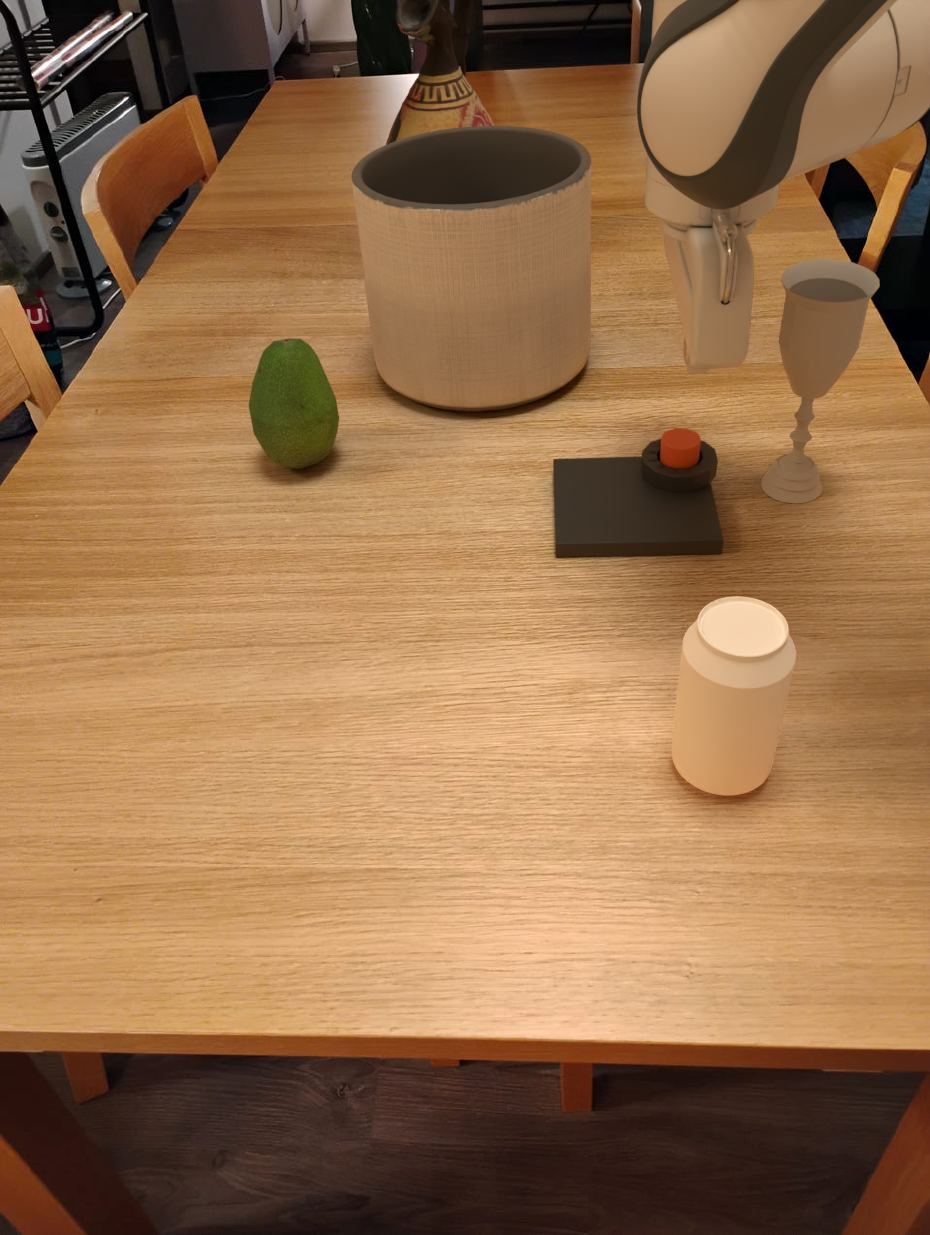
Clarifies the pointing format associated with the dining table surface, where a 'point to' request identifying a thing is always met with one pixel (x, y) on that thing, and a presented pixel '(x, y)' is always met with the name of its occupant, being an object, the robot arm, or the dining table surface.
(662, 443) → the button
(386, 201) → the planter
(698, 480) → the scale
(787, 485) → the chalice
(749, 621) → the beverage can
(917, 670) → the dining table surface
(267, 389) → the avocado
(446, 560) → the dining table surface
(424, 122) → the ceramic jug
